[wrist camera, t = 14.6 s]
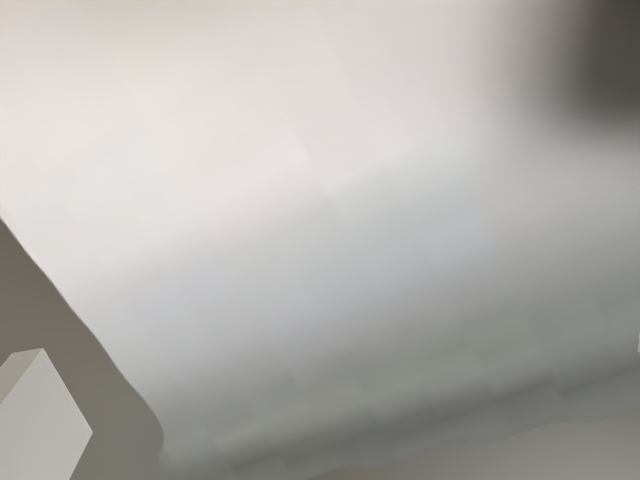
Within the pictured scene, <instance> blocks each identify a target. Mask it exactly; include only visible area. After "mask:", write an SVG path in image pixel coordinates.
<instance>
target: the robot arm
mask: <svg viewBox="0 0 640 480" xmlns="http://www.w3.org/2000/svg"><path fill="white" fill-rule="evenodd" d="M638 351H639V353H640V335H639V346H638ZM92 433H93V432H92V430H91V428H90V427H89V425H88V423H87V422H86V420H85V418H84V417H83V415H82V413H81V412H80V410H79V408H78V406H77V405H76V403H75V402H74V400H73V398H72V396H71V395H70V393H69V392H68V390H67V388H66V386H65V385H64V383H63V381H62V379H61V378H60V376H59V375H58V373H57V371H56V369H55V368H54V366H53V364H52V362H51V361H50V360H49V357H48V356H47V354H46V352H45V351H44V349H43V348H40V349H34V350H28V351H22V352H16V353H12V354H11V355H10V356H9V358H8V359H7V360H6V361H5V363H4V364H3V365H2V366H1V368H0V480H69V479H70V477H71V474H72V472H73V471H74V469H75V467H76V464H77V463H78V461H79V459H80V456H81V455H82V453H83V451H84V449H85V447H86V445H87V443H88V441H89V439H90V437H91V435H92Z"/></svg>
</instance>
